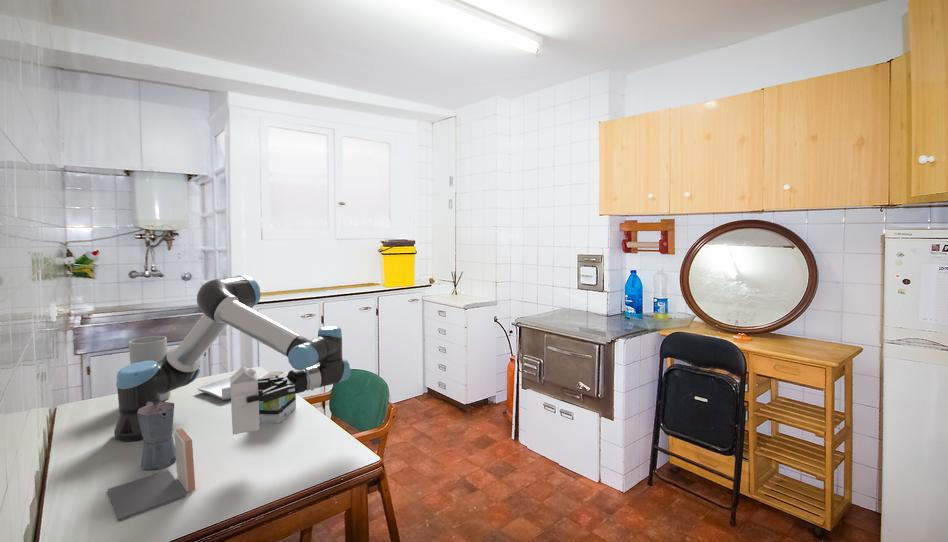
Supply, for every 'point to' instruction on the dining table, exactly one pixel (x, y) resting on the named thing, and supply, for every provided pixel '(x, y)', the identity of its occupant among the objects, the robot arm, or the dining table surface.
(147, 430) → the moka pot
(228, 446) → the dining table surface
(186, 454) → the terracotta tile
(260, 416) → the tea box
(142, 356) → the cylinder vase
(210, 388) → the salad plate
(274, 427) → the dining table surface
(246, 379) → the milk carton
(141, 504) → the rubber mat
